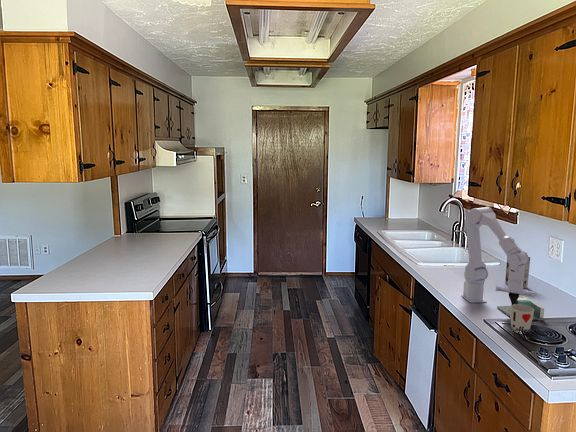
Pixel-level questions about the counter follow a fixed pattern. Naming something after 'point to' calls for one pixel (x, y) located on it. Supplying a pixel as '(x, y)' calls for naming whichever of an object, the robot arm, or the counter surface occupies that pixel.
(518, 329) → the cup
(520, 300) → the module
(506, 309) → the rail base
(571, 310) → the counter surface
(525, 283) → the coffee box
